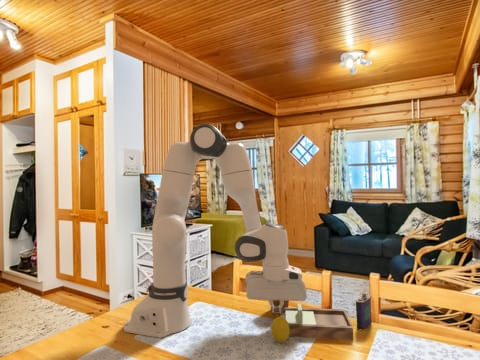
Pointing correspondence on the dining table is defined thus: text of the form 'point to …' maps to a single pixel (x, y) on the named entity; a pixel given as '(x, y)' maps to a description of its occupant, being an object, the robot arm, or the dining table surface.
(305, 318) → the cover
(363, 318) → the flask
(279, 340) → the lemon
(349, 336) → the wooden tray
